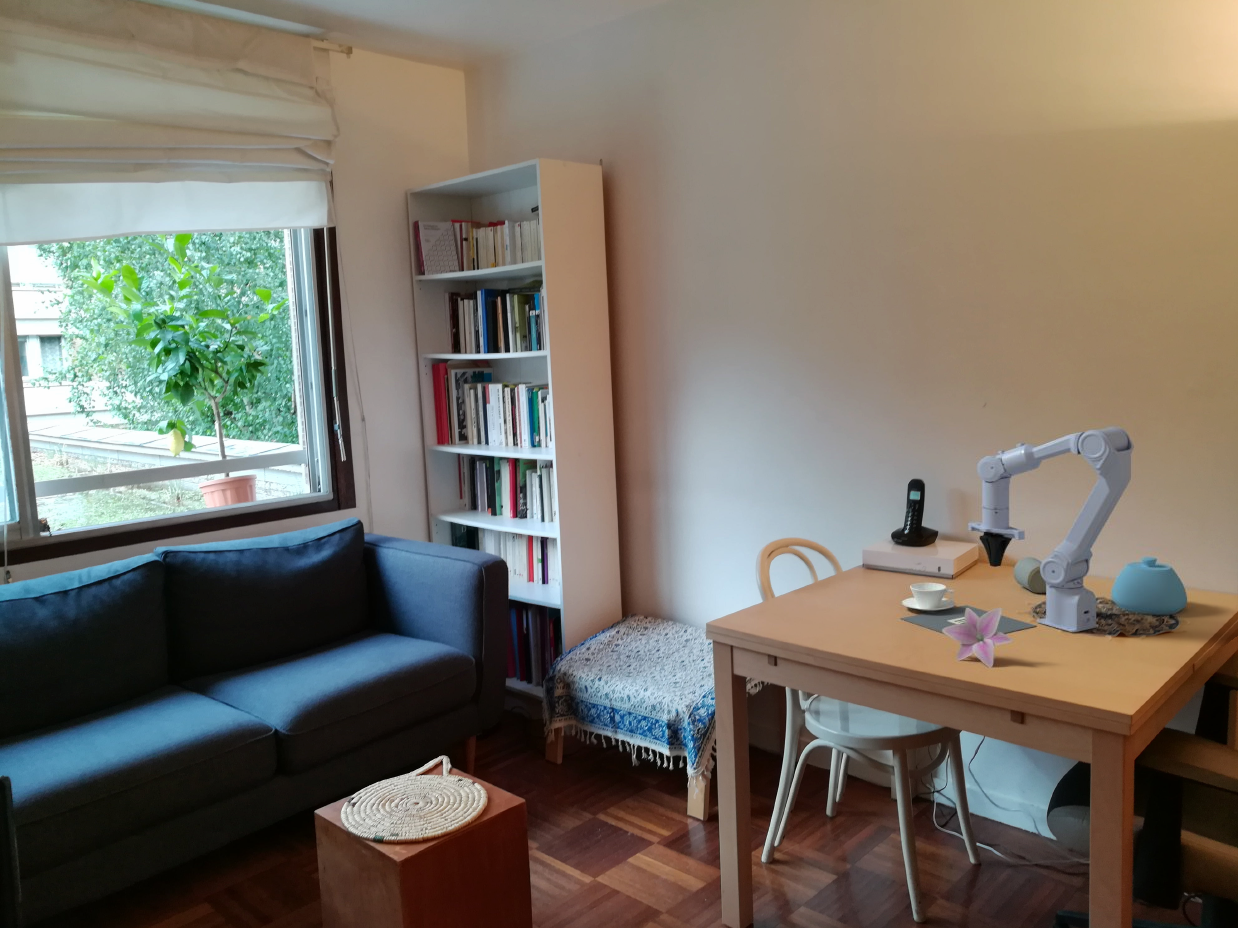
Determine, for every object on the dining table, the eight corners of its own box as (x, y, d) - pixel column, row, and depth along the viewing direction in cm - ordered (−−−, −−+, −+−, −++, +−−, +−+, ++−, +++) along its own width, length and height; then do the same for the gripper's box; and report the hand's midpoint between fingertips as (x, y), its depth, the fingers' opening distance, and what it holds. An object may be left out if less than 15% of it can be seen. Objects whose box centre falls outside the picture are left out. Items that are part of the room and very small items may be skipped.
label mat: (1036, 626, 199) (1036, 625, 199) (967, 641, 190) (967, 640, 190) (966, 605, 217) (966, 604, 217) (900, 618, 208) (900, 617, 208)
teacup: (957, 615, 208) (957, 592, 207) (902, 614, 211) (901, 592, 211) (954, 602, 219) (953, 581, 219) (901, 601, 223) (901, 580, 222)
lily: (936, 655, 186) (932, 621, 181) (980, 626, 189) (977, 592, 184) (982, 689, 177) (979, 655, 171) (1027, 658, 180) (1025, 623, 174)
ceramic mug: (1028, 595, 224) (1028, 564, 223) (1012, 586, 232) (1013, 557, 231) (1070, 593, 224) (1071, 562, 223) (1053, 585, 232) (1054, 555, 231)
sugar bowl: (1182, 620, 199) (1184, 567, 197) (1105, 611, 208) (1106, 561, 207) (1190, 603, 211) (1191, 554, 209) (1117, 596, 220) (1117, 548, 218)
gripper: (958, 505, 215) (958, 562, 216) (1008, 513, 202) (1008, 574, 203) (980, 502, 218) (980, 558, 219) (1031, 510, 204) (1031, 569, 206)
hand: (995, 565), depth 211 cm, fingers closed
